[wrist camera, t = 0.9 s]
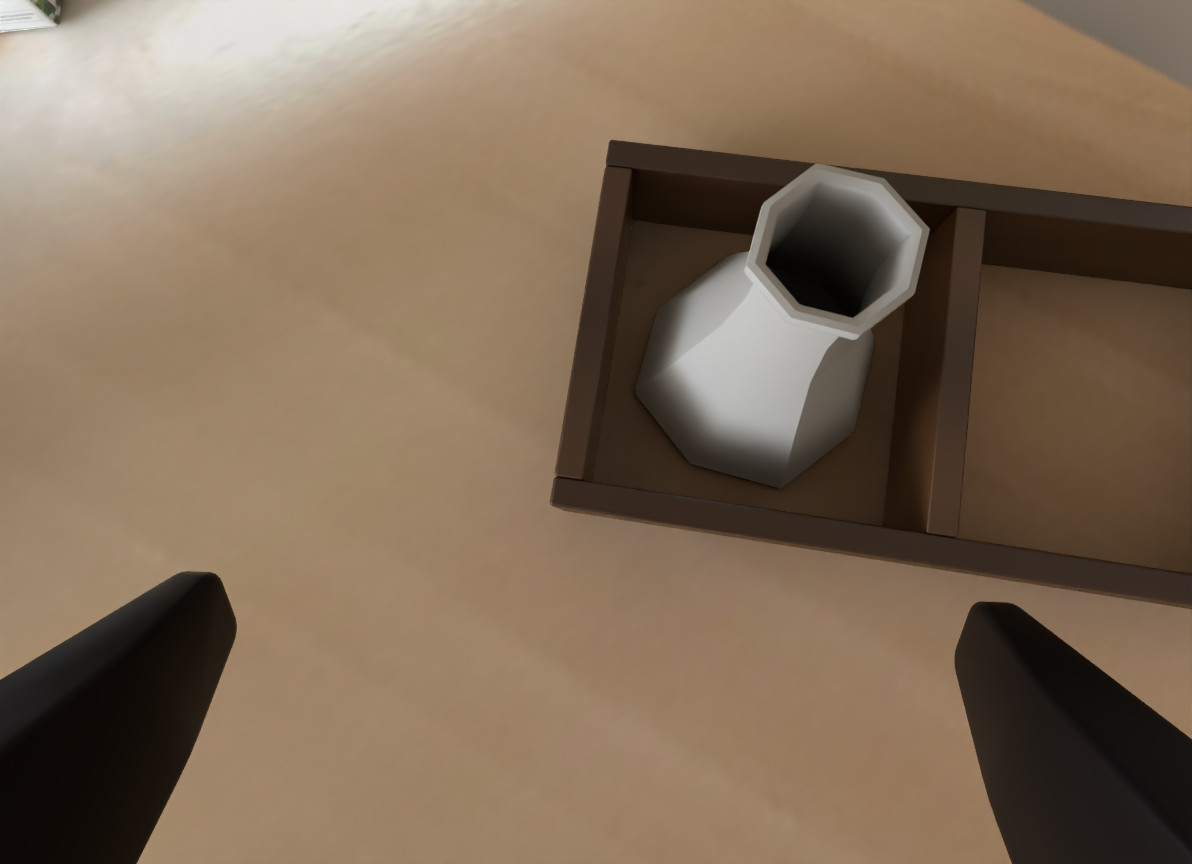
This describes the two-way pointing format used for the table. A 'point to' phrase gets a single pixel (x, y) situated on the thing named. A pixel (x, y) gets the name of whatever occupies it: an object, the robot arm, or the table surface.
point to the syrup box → (29, 14)
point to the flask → (784, 328)
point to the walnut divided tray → (927, 362)
